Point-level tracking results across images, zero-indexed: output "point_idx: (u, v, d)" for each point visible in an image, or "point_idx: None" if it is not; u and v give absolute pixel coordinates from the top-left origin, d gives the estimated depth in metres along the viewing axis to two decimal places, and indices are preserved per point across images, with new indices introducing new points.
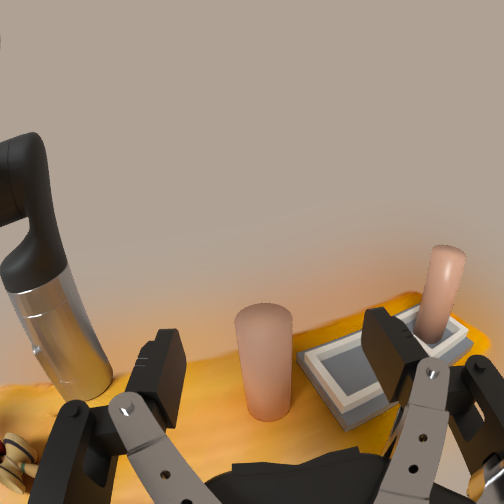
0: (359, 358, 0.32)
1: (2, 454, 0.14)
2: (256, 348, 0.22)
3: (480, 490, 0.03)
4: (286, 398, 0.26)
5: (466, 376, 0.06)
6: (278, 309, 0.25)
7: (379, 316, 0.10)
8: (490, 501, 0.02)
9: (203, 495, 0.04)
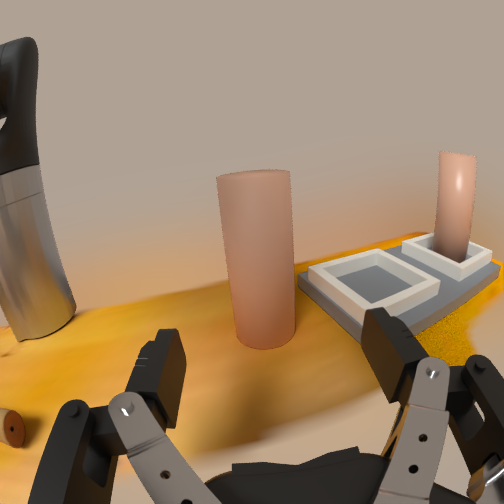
0: (376, 276, 0.27)
1: None
2: (244, 199, 0.17)
3: (480, 490, 0.03)
4: (289, 307, 0.21)
5: (466, 376, 0.06)
6: (271, 170, 0.20)
7: (379, 316, 0.10)
8: (490, 501, 0.02)
9: (203, 495, 0.04)
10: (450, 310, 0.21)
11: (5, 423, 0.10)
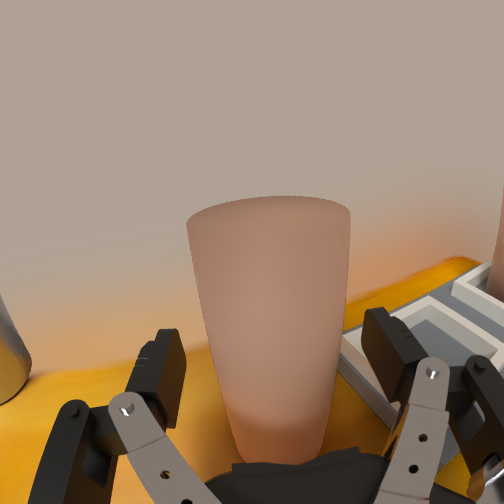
0: (430, 340, 0.17)
1: None
2: (250, 289, 0.07)
3: (480, 490, 0.03)
4: (322, 430, 0.11)
5: (466, 376, 0.06)
6: (304, 200, 0.10)
7: (379, 316, 0.10)
8: (490, 501, 0.02)
9: (203, 495, 0.04)
10: None
11: None
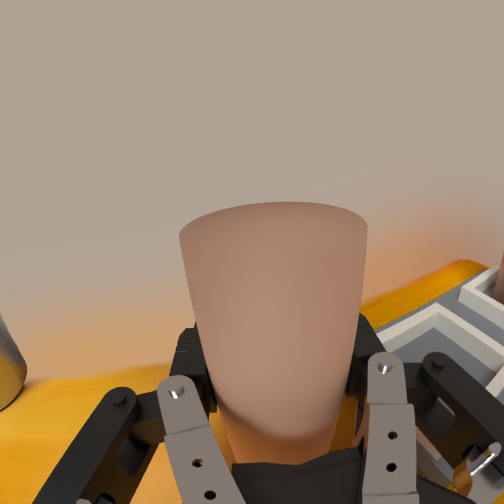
0: (438, 350, 0.16)
1: None
2: (253, 315, 0.06)
3: (467, 483, 0.03)
4: (327, 449, 0.10)
5: (425, 376, 0.07)
6: (313, 207, 0.09)
7: None
8: (482, 490, 0.03)
9: (229, 490, 0.04)
10: None
11: None
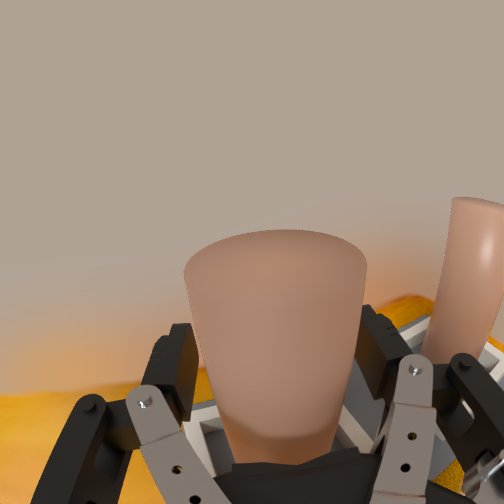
0: None
1: None
2: (256, 356, 0.06)
3: (475, 487, 0.03)
4: None
5: (451, 375, 0.07)
6: (314, 238, 0.09)
7: (364, 313, 0.10)
8: (487, 496, 0.03)
9: (212, 493, 0.04)
10: None
11: None
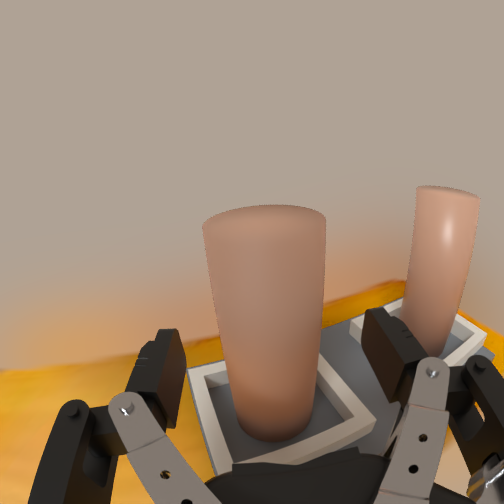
0: None
1: None
2: (249, 276, 0.10)
3: (480, 490, 0.03)
4: (309, 399, 0.14)
5: (466, 376, 0.06)
6: (293, 209, 0.13)
7: (379, 316, 0.10)
8: (490, 501, 0.02)
9: (203, 495, 0.04)
10: None
11: None
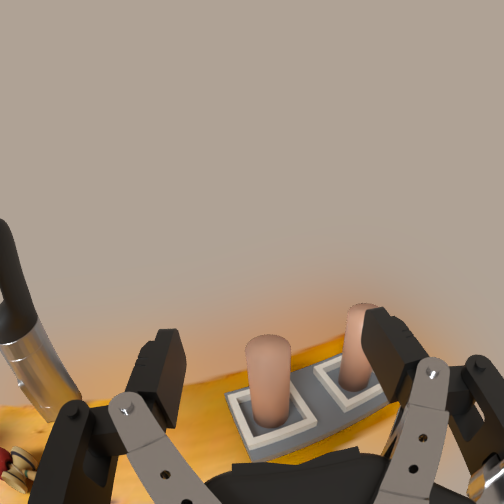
0: None
1: (10, 462, 0.18)
2: (262, 371, 0.28)
3: (480, 490, 0.03)
4: (285, 409, 0.32)
5: (466, 376, 0.06)
6: (280, 340, 0.31)
7: (379, 316, 0.10)
8: (490, 501, 0.02)
9: (203, 495, 0.04)
10: (324, 437, 0.31)
11: None
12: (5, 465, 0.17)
